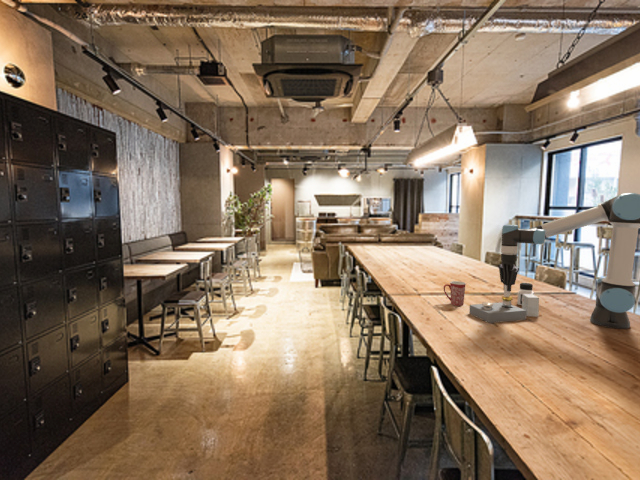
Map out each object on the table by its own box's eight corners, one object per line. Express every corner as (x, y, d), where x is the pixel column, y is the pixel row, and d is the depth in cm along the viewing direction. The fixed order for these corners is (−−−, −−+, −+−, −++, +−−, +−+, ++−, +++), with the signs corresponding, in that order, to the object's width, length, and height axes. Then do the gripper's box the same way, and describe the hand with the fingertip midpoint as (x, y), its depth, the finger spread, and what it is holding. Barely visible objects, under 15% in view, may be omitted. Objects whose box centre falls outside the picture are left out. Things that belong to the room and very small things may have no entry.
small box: (538, 316, 180) (539, 297, 179) (527, 316, 181) (528, 297, 180) (532, 312, 188) (533, 294, 187) (521, 311, 189) (522, 293, 188)
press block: (526, 319, 176) (526, 310, 176) (489, 323, 172) (489, 313, 171) (503, 310, 192) (503, 302, 191) (469, 313, 187) (469, 304, 187)
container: (532, 306, 198) (533, 285, 197) (517, 304, 203) (518, 283, 202) (533, 303, 205) (534, 282, 203) (518, 301, 209) (519, 281, 208)
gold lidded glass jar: (514, 310, 180) (515, 298, 180) (506, 311, 179) (506, 298, 179) (507, 307, 186) (507, 295, 185) (499, 308, 185) (499, 296, 184)
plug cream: (494, 317, 178) (495, 304, 178) (486, 318, 177) (486, 305, 177) (488, 314, 183) (488, 301, 183) (479, 315, 182) (480, 302, 182)
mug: (465, 303, 208) (466, 281, 206) (464, 307, 200) (465, 284, 198) (444, 300, 213) (444, 280, 212) (442, 304, 205) (442, 282, 204)
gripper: (524, 255, 174) (522, 299, 176) (506, 251, 187) (504, 293, 189) (512, 255, 173) (510, 300, 175) (494, 252, 185) (492, 294, 188)
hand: (506, 296), depth 182 cm, fingers closed
